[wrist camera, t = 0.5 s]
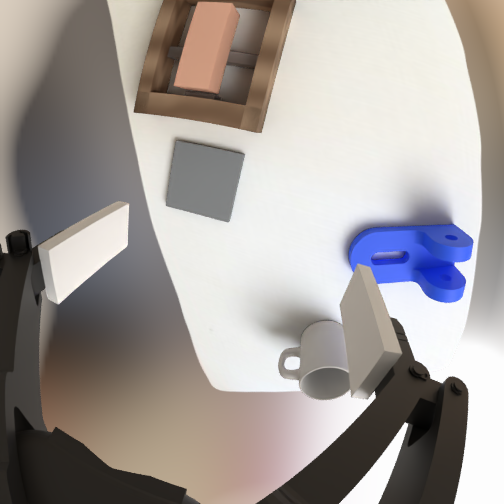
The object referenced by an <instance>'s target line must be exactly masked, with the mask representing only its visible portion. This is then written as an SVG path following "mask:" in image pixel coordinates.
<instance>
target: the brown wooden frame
mask: <svg viewBox="0 0 504 504" xmlns="http://www.w3.org/2000/svg"><path fill="white" fill-rule="evenodd" d="M198 2H223V3H233V5H234V7H236V8H246V9H255V10H262V11H269V12H271V13H270V16H269V20H268V23H267V27H266V30H265V34H264V37H263V41H262V44H261V48H260V52H259V55H253V54H247V53H240V52H233V51H230V52H229V56H228V59H227V63H226V65H229V66H236V67H243V68H249V69H254V74H253V78H252V82H251V86H250V90H249V94H248V98H247V102H246V105H240V104H235V103H230V102H224V101H221V99H222V98H220V97H218V96H215V95H210V94H203V93H196V92H188V91H186V92H185V96H183V95H174V94H167V90H168V86H169V81H170V77H171V73H172V69H173V65H174V61H175V60H180V59H181V55H182V51H183V48H184V47H179V43H180V40H181V36H182V33H183V30H184V27H185V23H186V20H187V17H188V14H189V11H190V8H191V6H197V3H198ZM295 4H296V0H164V1H163V3H162V6H161V9H160V12H159V15H158V18H157V21H156V24H155V27H154V30H153V34H152V37H151V40H150V44H149V47H148V51H147V55H146V58H145V62H144V66H143V70H142V74H141V79H140V83H139V88H138V92H137V97H136V102H135V107H134V113H144V114H153V115H161V116H169V117H176V118H183V119H189V120H195V121H201V122H207V123H212V124H218V125H223V126H228V127H233V128H238V129H242V130H247V131H251V132H256V133H262V129H263V125H264V121H265V117H266V113H267V109H268V105H269V101H270V97H271V93H272V89H273V85H274V82H275V78H276V74H277V70H278V66H279V62H280V59H281V55H282V51H283V47H284V44H285V40H286V36H287V33H288V29H289V25H290V22H291V18H292V15H293V11H294V7H295Z"/></svg>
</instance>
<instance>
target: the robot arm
mask: <svg viewBox="0 0 504 504" xmlns="http://www.w3.org/2000/svg"><path fill="white" fill-rule="evenodd" d="M128 214H129V203H125V202H121V201H117V202H116V203H113V204H112V205H110V206H108V207H106V208H104V209H102V210H100V211H98V212H96V213H94V214H92V215H91V216H89V217H87V218H85V219H83V220H82V221H80V222H78V223H76V224H74V225H72V226H71V227H69V228H67V229H65V230H63V231H60V232H58V233H57V234H55V235H54V236H52V237H50V238H49V239H47V240H45V241H43V242H42V243H40V244H39V245H37V246H35V247H34V248H32V245H31V237H30V232H29V231H27V230H17V231H13V232H11V233H9V234H8V235H7V236H6V242H7V249H8V253H2V248H1V244H0V504H200V503H199V502H197V501H196V500H194V499H193V498H191V497H189V496H188V495H186V491H187V489H185V488H182V487H179V486H176V485H173V484H170V483H167V482H164V481H162V480H159V479H156V478H153V477H151V476H146V475H141V474H136V473H131V472H126V471H122V470H117V469H113V468H111V467H109V466H108V465H107V464H105V463H104V462H103V461H102V460H101V459H99V458H98V457H97V456H96V455H95V454H94V453H93V452H91V451H90V450H89V449H88V448H87V447H86V446H85V445H84V444H83V443H81V442H79V441H78V440H76V439H74V438H72V437H71V436H69V435H68V434H66V433H64V432H63V431H62V430H60V429H58V428H57V427H55V429H54V430H53V432H48V431H47V428H46V426H45V424H44V421H43V417H42V407H41V396H40V379H39V333H40V315H41V303H42V296H41V291H42V290H44V289H46V293H47V298H48V299H49V300H51V301H53V302H55V303H57V304H59V303H60V302H61V301H63V300H64V299H65V298H66V297H67V296H68V295H69V294H70V293H72V292H73V290H75V289H76V288H77V287H78V286H80V285H81V284H82V283H83V282H84V281H85V280H86V279H88V278H89V277H90V276H91V275H92V274H93V273H95V272H96V271H97V270H98V269H99V268H101V267H102V266H103V265H104V264H105V263H107V262H108V261H109V260H110V259H112V258H113V257H114V256H115V255H117V254H118V253H119V252H120V251H122V250H123V249H124V248H125V247H127V246H128ZM340 310H341V316H342V323H343V330H344V337H345V345H346V353H347V361H348V370H349V379H350V390H351V397H352V398H360V399H368V398H369V397H370V396H371V395H372V393H373V392H374V391H375V395H376V399H375V400H374V401H373V402H372V403H371V404H370V405H369V406H368V407H367V409H366V410H365V411H364V412H363V413H362V414H361V415H360V416H359V417H358V418H357V419H356V420H355V421H354V423H352V424H351V426H349V428H348V429H347V430H346V431H345V432H344V433H343V434H341V435H340V437H338V438H337V439H336V440H335V441H334V442H333V443H332V444H331V445H330V446H329V447H328V448H327V449H326V450H325V451H323V453H321V454H320V455H319V456H318V457H317V458H316V459H314V460H313V461H312V462H311V463H310V464H309V465H307V466H306V467H305V468H304V469H303V470H302V471H300V472H299V473H298V474H296V475H295V476H294V477H293V478H291V479H290V480H289V481H288V482H286V483H285V484H284V485H282V486H281V487H279V488H278V489H277V490H275V491H274V492H273V493H271V494H269V495H268V496H266V497H265V498H264V499H262V500H261V501H259V502H258V503H256V504H339V503H340V502H341V501H342V500H343V499H344V498H345V497H346V496H347V495H348V493H349V492H350V491H351V490H352V489H353V488H354V487H355V486H356V485H357V484H358V483H359V481H360V480H361V479H362V478H363V477H364V476H365V475H366V473H367V472H368V471H369V470H370V469H371V467H372V466H373V465H374V464H375V462H376V461H377V460H378V459H379V457H380V456H381V455H382V453H383V452H384V451H385V450H386V448H387V447H388V445H389V444H390V443H391V441H392V440H393V439H394V437H395V436H396V434H397V433H398V432H399V430H400V429H401V427H402V425H403V424H404V423H405V422H406V423H408V428H407V431H406V434H405V437H404V440H403V443H402V447H401V450H400V452H399V455H398V458H397V461H396V463H395V466H394V469H393V471H392V474H391V476H390V479H389V481H388V484H387V486H386V488H385V491H384V493H383V495H382V498H381V499H380V501H379V504H454V501H455V497H456V493H457V488H458V483H459V479H460V474H461V468H462V462H463V456H464V455H463V454H464V448H465V440H466V430H467V417H468V389H467V387H466V385H465V384H464V383H463V382H462V381H461V380H460V379H458V378H456V377H448V378H447V379H446V380H445V381H444V382H443V384H442V383H440V382H437V381H435V380H432V379H430V374H429V372H428V370H427V368H426V367H425V366H424V365H423V364H421V363H419V362H418V361H415V359H414V356H413V353H412V351H411V348H410V345H409V342H407V341H408V340H407V337H406V336H405V332H404V329H403V326H402V325H401V324H400V323H399V322H398V320H397V319H395V318H391V317H390V316H389V314H388V311H387V308H386V306H385V303H384V300H383V298H382V295H381V293H380V290H379V287H378V285H377V282H376V280H375V278H374V275H373V273H372V270H371V268H370V267H368V266H365V265H361V264H357V266H356V268H355V271H354V273H353V276H352V278H351V280H350V283H349V285H348V287H347V289H346V292H345V294H344V296H343V299H342V301H341V303H340Z"/></svg>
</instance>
